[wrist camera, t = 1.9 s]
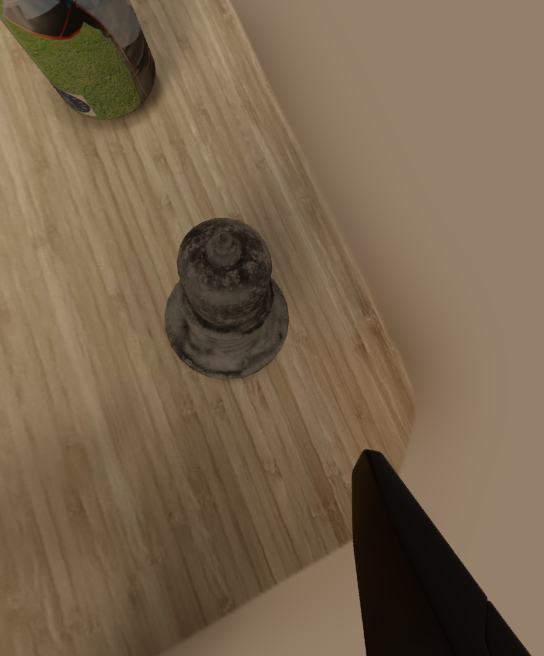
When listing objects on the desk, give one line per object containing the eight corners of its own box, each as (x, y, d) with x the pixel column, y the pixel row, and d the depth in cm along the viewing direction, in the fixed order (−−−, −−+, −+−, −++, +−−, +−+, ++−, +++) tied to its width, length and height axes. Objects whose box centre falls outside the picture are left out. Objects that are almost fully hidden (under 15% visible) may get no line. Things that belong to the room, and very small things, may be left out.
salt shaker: (225, 406, 20) (216, 405, 8) (153, 329, 20) (47, 224, 9) (300, 334, 21) (384, 244, 9) (231, 263, 22) (229, 95, 10)
